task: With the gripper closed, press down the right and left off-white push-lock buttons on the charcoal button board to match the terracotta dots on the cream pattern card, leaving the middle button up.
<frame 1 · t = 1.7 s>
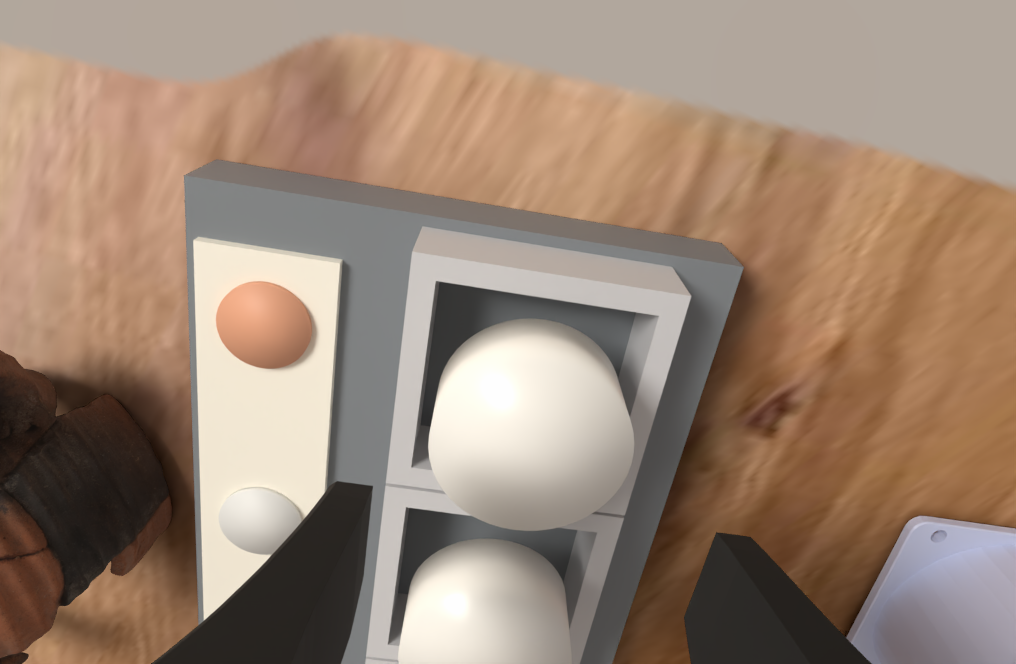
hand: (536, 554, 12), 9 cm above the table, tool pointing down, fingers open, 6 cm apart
button board: (432, 492, 23), on the table
button middle: (486, 628, 18), point 5 cm above the table, slide at 0.0 cm
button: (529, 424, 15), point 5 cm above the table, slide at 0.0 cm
pottery mug: (30, 440, 22), on the table
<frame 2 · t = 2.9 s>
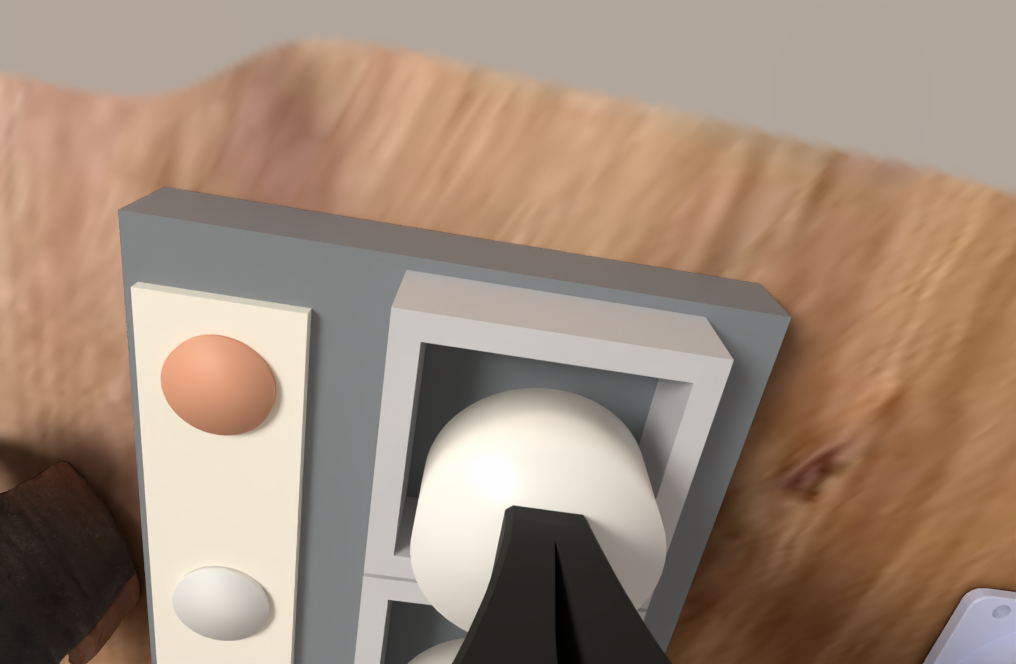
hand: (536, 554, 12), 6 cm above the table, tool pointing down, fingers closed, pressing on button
button board: (422, 561, 20), on the table
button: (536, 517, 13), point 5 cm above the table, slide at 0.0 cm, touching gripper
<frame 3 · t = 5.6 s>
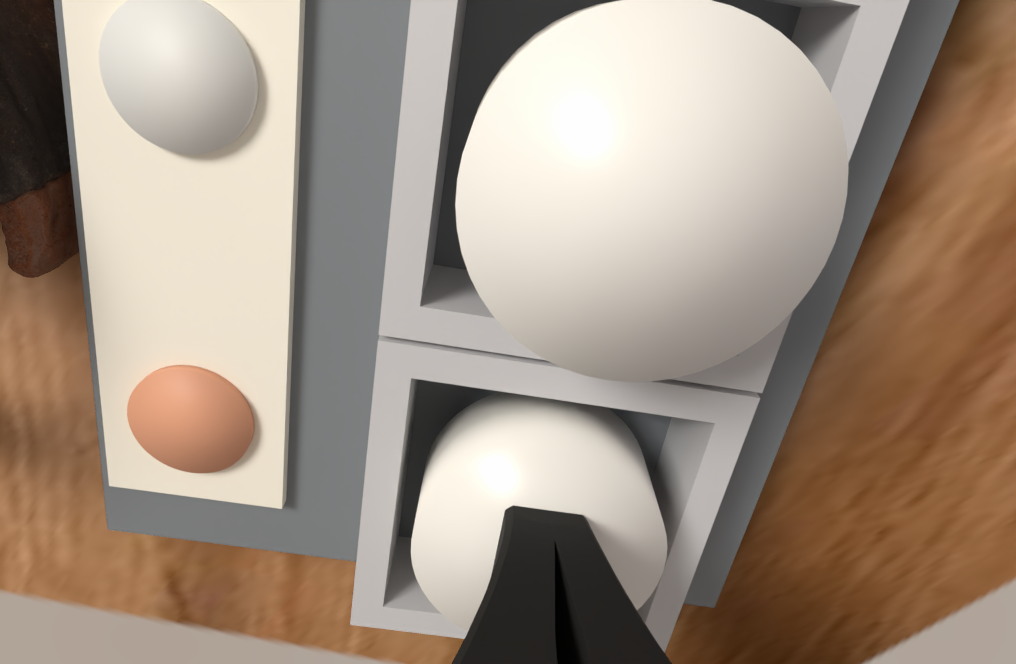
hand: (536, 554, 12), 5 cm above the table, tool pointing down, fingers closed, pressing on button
button board: (490, 110, 13), on the table
button middle: (634, 191, 9), point 5 cm above the table, slide at 0.0 cm
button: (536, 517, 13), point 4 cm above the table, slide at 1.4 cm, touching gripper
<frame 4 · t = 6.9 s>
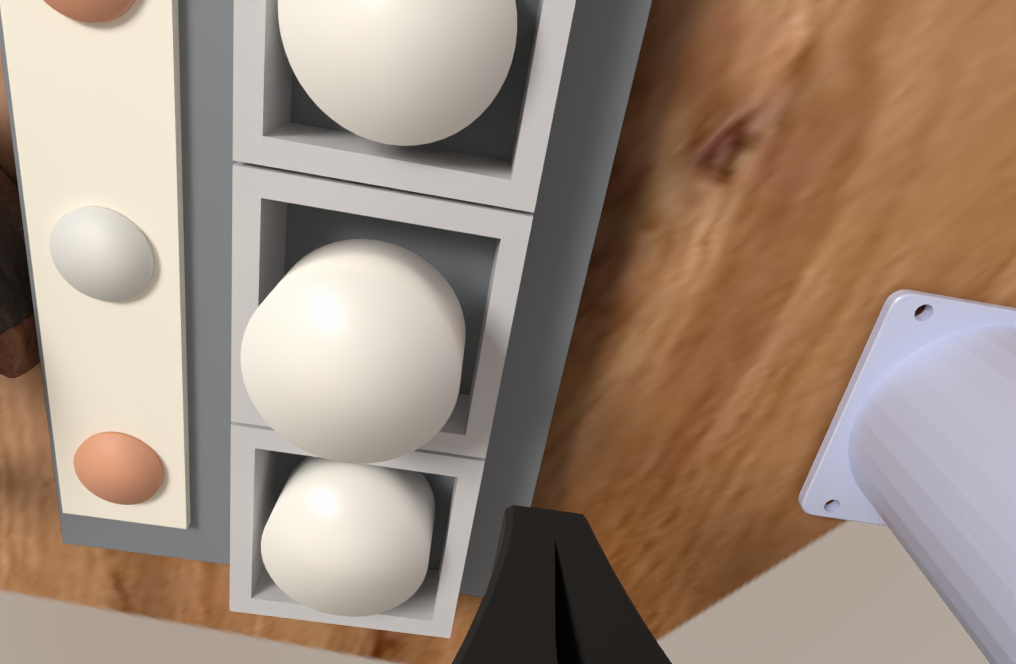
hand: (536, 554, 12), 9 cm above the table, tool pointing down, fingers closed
button board: (326, 256, 19), on the table
button middle: (360, 351, 15), point 5 cm above the table, slide at 0.0 cm
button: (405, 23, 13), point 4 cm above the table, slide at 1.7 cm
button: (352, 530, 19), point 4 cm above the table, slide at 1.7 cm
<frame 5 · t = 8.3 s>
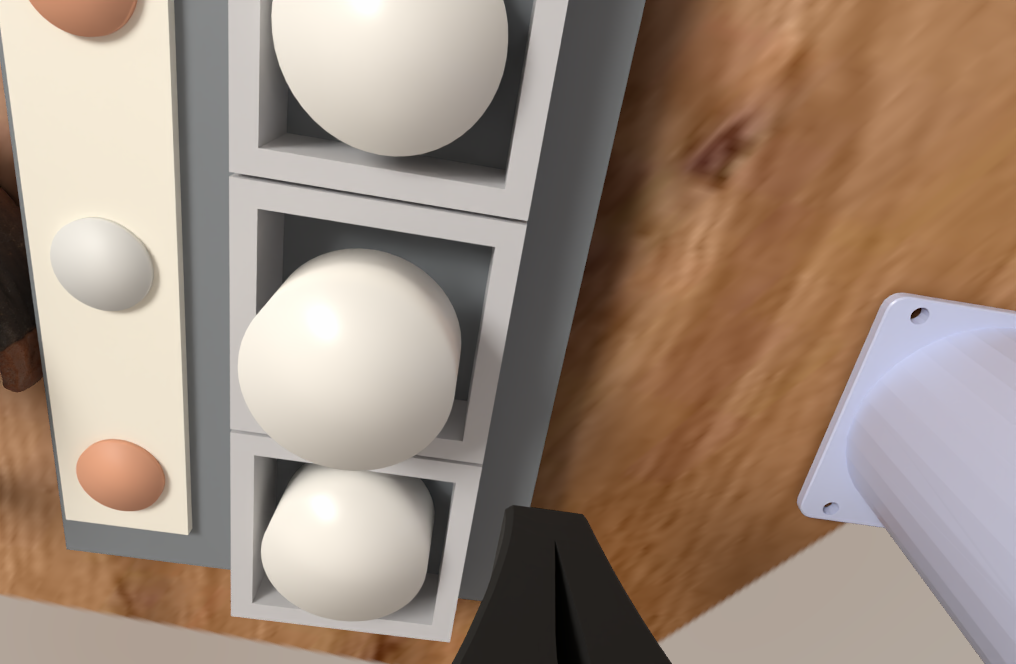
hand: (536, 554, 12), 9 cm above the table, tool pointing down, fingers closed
button board: (324, 264, 19), on the table
button middle: (357, 359, 15), point 5 cm above the table, slide at 0.0 cm
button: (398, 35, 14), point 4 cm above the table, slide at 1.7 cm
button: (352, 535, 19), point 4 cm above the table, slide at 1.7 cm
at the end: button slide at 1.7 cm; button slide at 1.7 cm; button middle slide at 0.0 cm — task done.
